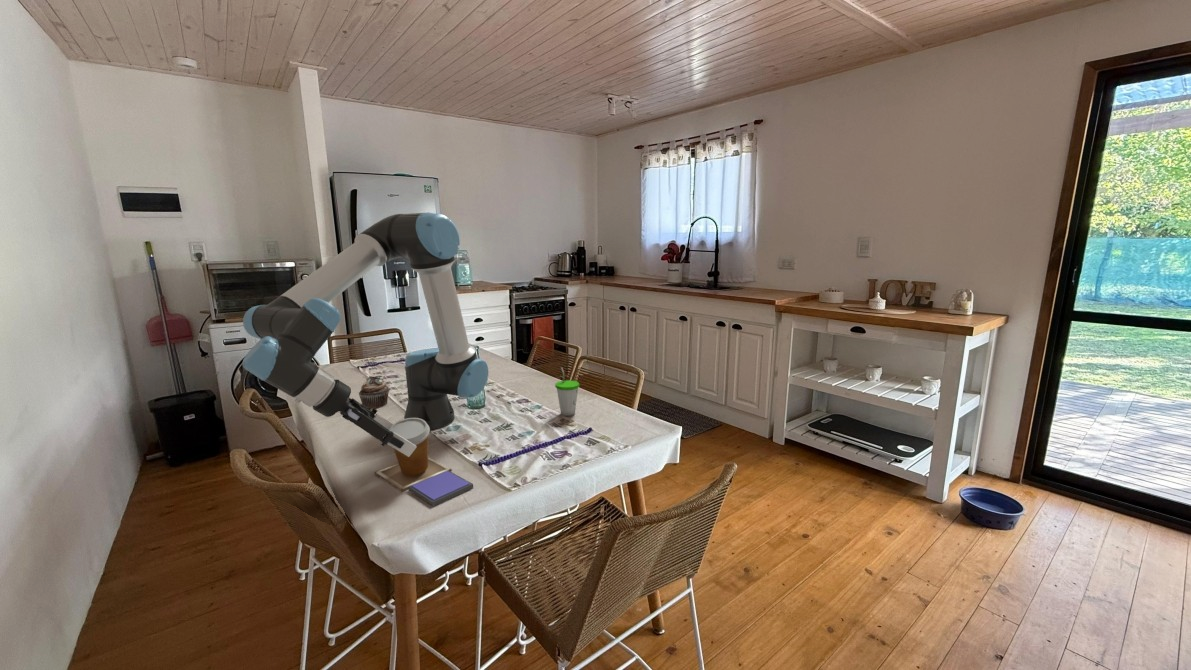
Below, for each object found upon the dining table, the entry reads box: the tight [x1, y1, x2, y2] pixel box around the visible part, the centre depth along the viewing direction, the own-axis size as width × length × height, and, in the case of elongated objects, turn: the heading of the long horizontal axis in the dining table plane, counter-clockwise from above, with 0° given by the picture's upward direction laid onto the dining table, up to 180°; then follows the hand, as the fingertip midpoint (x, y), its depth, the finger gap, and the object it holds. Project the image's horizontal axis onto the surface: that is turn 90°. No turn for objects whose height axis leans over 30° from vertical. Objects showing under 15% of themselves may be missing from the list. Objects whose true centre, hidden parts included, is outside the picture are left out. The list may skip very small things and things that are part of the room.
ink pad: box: [408, 471, 474, 507], centre depth 113 cm, size 10×10×1 cm
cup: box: [554, 366, 580, 417], centre depth 159 cm, size 8×8×15 cm
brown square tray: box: [374, 456, 453, 493], centre depth 121 cm, size 13×13×1 cm
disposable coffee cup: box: [389, 418, 431, 476], centre depth 119 cm, size 10×10×12 cm
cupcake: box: [358, 375, 390, 410], centre depth 170 cm, size 10×10×10 cm
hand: (403, 441), depth 114 cm, fingers open, 13 cm apart
